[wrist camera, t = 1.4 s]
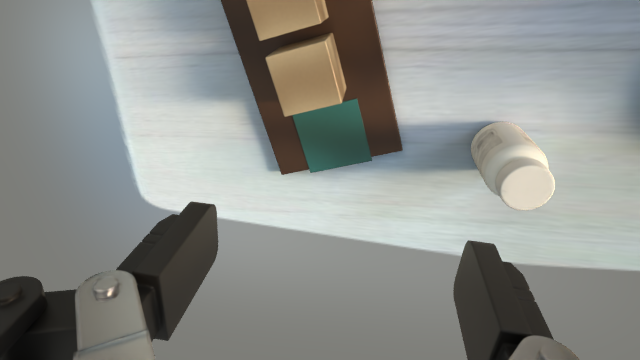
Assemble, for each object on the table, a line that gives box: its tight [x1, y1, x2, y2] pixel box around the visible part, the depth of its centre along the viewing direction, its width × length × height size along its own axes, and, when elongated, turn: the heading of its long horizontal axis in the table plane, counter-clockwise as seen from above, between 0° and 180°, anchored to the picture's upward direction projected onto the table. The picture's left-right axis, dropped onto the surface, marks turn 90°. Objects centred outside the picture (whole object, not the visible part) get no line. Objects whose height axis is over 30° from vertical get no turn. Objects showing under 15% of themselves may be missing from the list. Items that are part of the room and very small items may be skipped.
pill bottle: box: [471, 122, 555, 210], centre depth 30 cm, size 4×4×8 cm
